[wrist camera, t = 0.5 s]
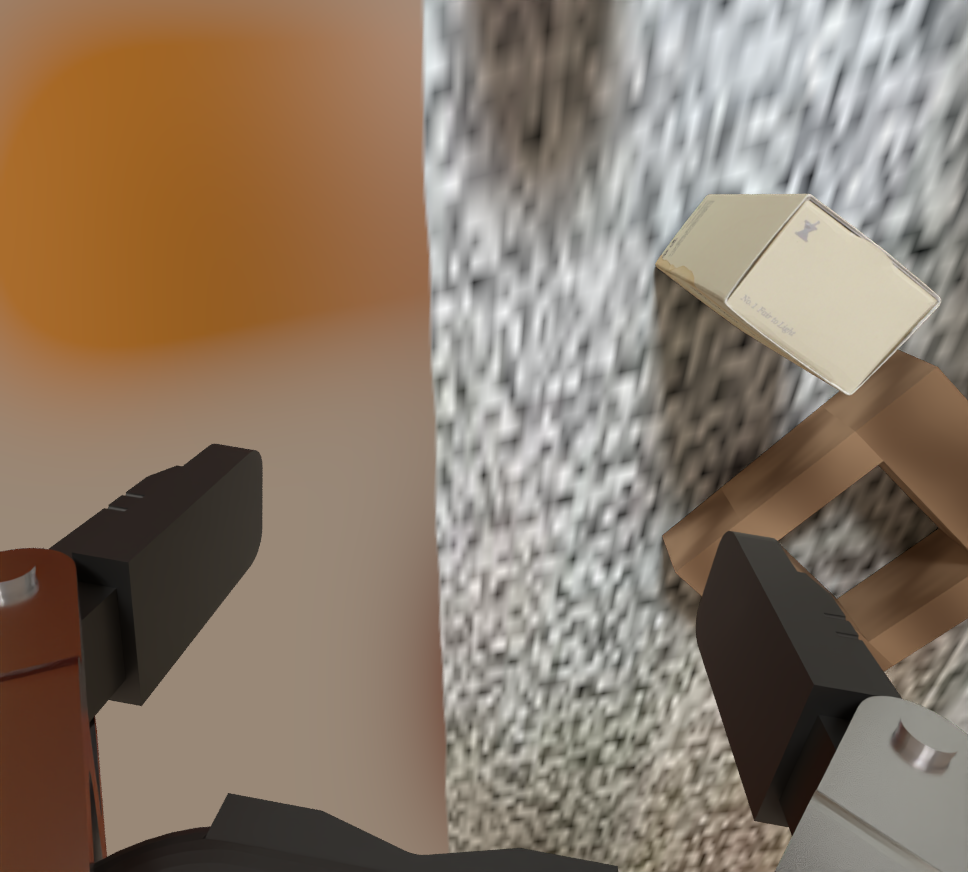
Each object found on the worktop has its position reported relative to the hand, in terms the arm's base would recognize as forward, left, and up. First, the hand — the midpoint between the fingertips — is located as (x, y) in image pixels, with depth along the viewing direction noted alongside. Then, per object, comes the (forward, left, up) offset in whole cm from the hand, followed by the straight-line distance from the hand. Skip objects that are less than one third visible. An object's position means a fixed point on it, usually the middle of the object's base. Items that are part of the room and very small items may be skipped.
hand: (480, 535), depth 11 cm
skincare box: (-9, +6, -25) cm, 27 cm away
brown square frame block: (-4, +22, -25) cm, 34 cm away
